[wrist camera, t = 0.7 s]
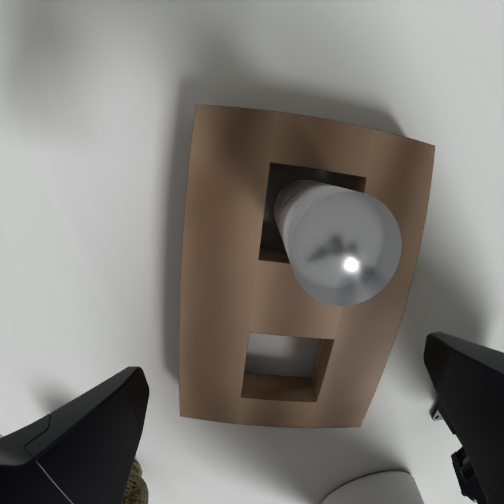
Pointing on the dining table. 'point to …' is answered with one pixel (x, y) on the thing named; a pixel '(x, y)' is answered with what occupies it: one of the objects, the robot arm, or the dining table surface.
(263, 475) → the dining table surface
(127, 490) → the cup
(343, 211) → the lock pin
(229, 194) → the mount block
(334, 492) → the cylinder vase
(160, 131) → the dining table surface
